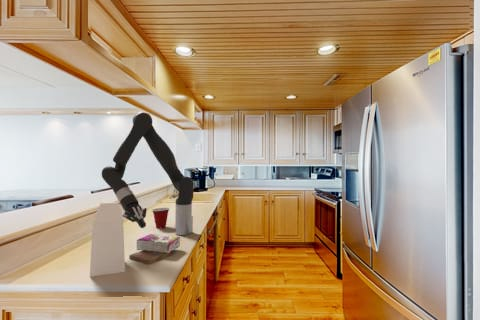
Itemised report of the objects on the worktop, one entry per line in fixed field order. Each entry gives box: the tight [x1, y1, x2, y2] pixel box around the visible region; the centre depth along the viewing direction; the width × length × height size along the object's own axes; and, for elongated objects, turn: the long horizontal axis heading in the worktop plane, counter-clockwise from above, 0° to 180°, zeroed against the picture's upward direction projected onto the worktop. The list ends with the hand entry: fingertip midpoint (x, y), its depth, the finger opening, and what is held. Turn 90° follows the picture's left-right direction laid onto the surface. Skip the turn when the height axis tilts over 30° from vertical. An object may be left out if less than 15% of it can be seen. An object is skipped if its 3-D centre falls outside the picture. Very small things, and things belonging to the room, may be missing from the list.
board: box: [128, 250, 174, 265], centre depth 122 cm, size 14×12×2 cm
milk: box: [89, 201, 126, 278], centre depth 108 cm, size 12×12×26 cm
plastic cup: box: [151, 207, 170, 229], centre depth 174 cm, size 11×11×12 cm
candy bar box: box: [136, 233, 181, 253], centre depth 128 cm, size 11×5×16 cm
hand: (143, 226), depth 129 cm, fingers closed
